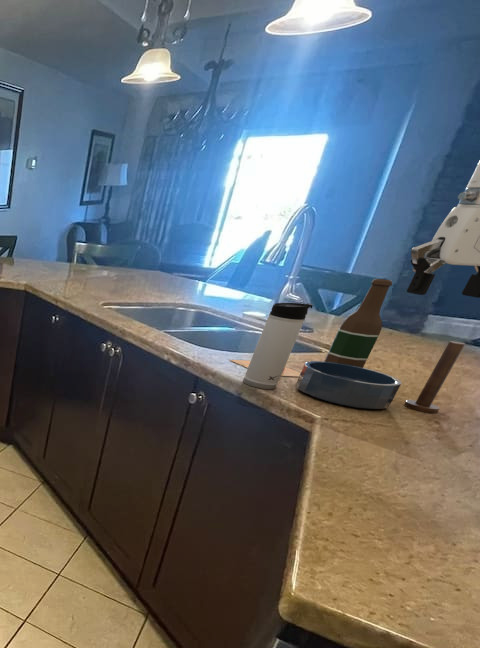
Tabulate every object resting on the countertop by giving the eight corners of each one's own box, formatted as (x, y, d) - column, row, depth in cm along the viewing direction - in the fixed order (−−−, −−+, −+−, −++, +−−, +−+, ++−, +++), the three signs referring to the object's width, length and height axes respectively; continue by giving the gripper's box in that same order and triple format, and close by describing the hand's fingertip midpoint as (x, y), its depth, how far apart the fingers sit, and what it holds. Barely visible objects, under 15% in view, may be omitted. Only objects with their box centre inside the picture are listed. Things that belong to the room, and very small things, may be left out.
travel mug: (276, 392, 113) (313, 306, 105) (241, 384, 117) (274, 301, 109) (278, 385, 117) (313, 302, 109) (243, 378, 121) (275, 297, 113)
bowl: (401, 405, 108) (415, 380, 105) (366, 415, 102) (379, 389, 100) (316, 381, 121) (326, 358, 118) (280, 388, 115) (290, 364, 113)
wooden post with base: (441, 411, 106) (480, 345, 100) (431, 414, 104) (470, 347, 98) (410, 402, 110) (445, 338, 104) (399, 405, 108) (434, 340, 102)
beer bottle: (366, 378, 124) (414, 283, 115) (328, 373, 127) (372, 280, 117) (350, 369, 131) (393, 278, 121) (314, 365, 133) (354, 275, 124)
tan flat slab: (264, 375, 123) (270, 359, 122) (228, 360, 135) (234, 345, 133) (310, 377, 124) (317, 361, 122) (271, 361, 135) (277, 346, 133)
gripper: (460, 198, 85) (412, 296, 92) (573, 201, 83) (515, 301, 90) (419, 198, 92) (376, 289, 99) (522, 201, 90) (472, 293, 97)
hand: (443, 294), depth 95 cm, fingers open, 9 cm apart
